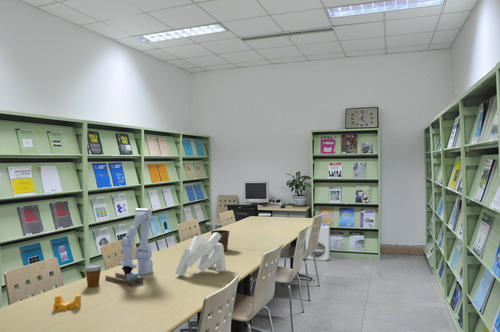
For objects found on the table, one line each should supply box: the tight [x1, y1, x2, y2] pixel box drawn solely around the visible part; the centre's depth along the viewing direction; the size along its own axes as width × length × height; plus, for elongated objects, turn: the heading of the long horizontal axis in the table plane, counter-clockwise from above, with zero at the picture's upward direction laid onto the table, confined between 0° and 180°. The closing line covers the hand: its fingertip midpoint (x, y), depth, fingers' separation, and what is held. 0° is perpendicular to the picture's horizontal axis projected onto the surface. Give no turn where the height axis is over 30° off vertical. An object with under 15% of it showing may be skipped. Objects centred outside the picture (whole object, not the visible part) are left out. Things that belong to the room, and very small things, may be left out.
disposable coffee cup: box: [84, 263, 102, 288], centre depth 234 cm, size 10×10×12 cm
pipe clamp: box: [53, 293, 82, 311], centre depth 197 cm, size 12×4×6 cm, turn 96°
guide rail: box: [104, 272, 144, 287], centre depth 242 cm, size 9×25×4 cm, turn 57°
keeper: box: [125, 271, 139, 281], centre depth 238 cm, size 5×5×6 cm
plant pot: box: [210, 229, 231, 252], centre depth 330 cm, size 16×16×16 cm
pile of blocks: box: [174, 232, 227, 277], centre depth 263 cm, size 35×30×35 cm
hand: (127, 278), depth 241 cm, fingers closed
